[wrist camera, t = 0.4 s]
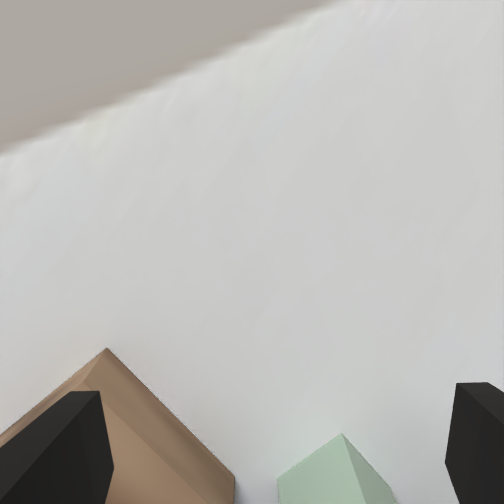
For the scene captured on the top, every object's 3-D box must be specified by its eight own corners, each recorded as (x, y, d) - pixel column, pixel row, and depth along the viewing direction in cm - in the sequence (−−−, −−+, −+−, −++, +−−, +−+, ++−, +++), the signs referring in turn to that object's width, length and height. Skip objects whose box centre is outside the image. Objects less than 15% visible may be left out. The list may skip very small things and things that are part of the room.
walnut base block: (102, 571, 23) (81, 634, 20) (-29, 458, 21) (-73, 508, 18) (234, 476, 21) (232, 527, 19) (106, 347, 20) (82, 381, 17)
